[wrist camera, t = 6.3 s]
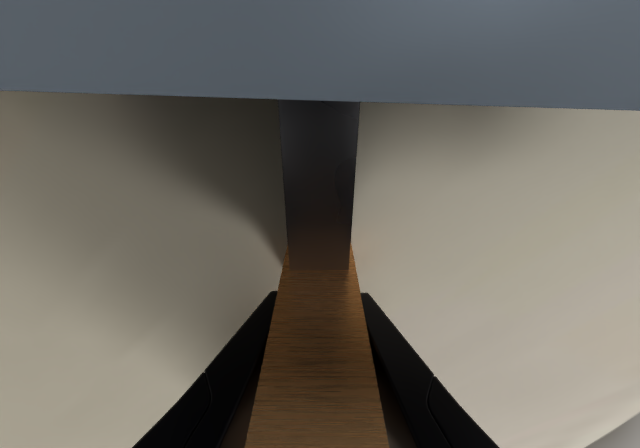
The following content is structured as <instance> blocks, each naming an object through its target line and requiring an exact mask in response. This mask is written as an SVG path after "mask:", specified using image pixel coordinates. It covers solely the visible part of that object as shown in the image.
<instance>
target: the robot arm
mask: <svg viewBox="0 0 640 448" xmlns="http://www.w3.org/2000/svg"><path fill="white" fill-rule="evenodd" d="M277 292H278V291H271V292H270V293H269V294H268V296H267V297H266V298H265V299H264V300H263V302H262V303H261V304H260V305H259V306H258V307H257V309H256V310H255V311H254V312H253V313H252V315H251V316H250V317H249V318H248V319H247V321H246V322H245V323H244V324H243V325H242V326H241V328H240V329H239V330H238V331H237V332H236V334H235V335H234V336H233V337H232V338H231V340H230V341H229V342H228V343H227V344H226V345H225V347H224V348H223V349H222V350H221V351H220V353H219V354H218V355H217V356H216V357H215V359H214V360H213V361H212V362H211V363H210V364H209V366H208V367H207V368H206V369H205V373H204V372H203V373H202V374H201V375H200V376H199V377H198V379H197V380H196V381H195V382H194V383H193V384H192V386H191V387H190V388H189V389H188V390H187V391H186V392H185V394H184V395H183V396H182V397H181V398H180V399H179V400H178V401H177V402H176V403H175V405H174V406H173V407H172V408H171V409H170V410H169V411H168V412H167V413H166V414H165V415H164V416H163V417H162V418H161V419H160V420H159V421H158V422H157V423H156V424H155V425H154V426H153V427H152V428H151V429H150V430H149V431H148V432H147V433H146V434H145V435H144V436H143V437H142V438H141V439H140V440H139V441H138V442H137V443H136V444H135V445H134V446H133V447H132V448H245V443H246V438H247V433H248V429H249V424H250V419H251V415H252V410H253V405H254V400H255V396H256V391H257V386H258V382H259V377H260V372H261V367H262V363H263V358H264V353H265V349H266V344H267V339H268V334H269V330H270V325H271V320H272V316H273V311H274V306H275V301H276V297H277ZM360 294H361V299H362V305H363V310H364V315H365V321H366V326H367V331H368V337H369V342H370V347H371V353H372V358H373V363H374V369H375V374H376V379H377V385H378V390H379V395H380V401H381V406H382V411H383V417H384V422H385V427H386V433H387V438H388V443H389V448H499V447H498V446H497V445H496V444H495V442H494V441H493V440H492V439H491V438H490V437H489V436H488V435H487V434H486V433H485V432H484V431H483V430H482V429H481V428H480V427H479V426H478V425H477V424H476V422H475V421H474V420H473V419H472V418H471V417H470V416H469V415H468V414H467V413H466V412H465V410H464V409H463V408H462V407H461V406H460V405H459V404H458V403H457V401H456V400H455V399H454V398H453V397H452V396H451V394H450V393H449V392H448V391H447V390H446V388H445V387H444V386H443V385H442V384H441V382H440V381H439V380H438V379H437V377H435V376H434V374H433V373H432V371H431V370H430V369H429V368H428V366H427V365H426V364H425V363H424V361H423V360H422V359H421V358H420V357H419V355H418V354H417V353H416V352H415V350H414V349H413V348H412V347H411V345H410V344H409V343H408V342H407V340H406V339H405V338H404V337H403V336H402V334H401V333H400V332H399V331H398V329H397V328H396V327H395V326H394V324H393V323H392V322H391V321H390V319H389V318H388V317H387V316H386V315H385V313H384V312H383V311H382V310H381V308H380V307H379V306H378V305H377V303H376V302H375V301H374V300H373V298H372V297H371V296H370V295H369V294H368V293H360Z"/></svg>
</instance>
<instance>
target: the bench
mask: <svg viewBox="0 0 640 448" xmlns="http://www.w3.org/2000/svg"><path fill="white" fill-rule="evenodd" d="M0 90H2V91H33V92H65V93H97V94H129V95H160V96H192V97H224V98H256V99H287V100H319V101H351V102H383V103H414V104H446V105H478V106H509V107H541V108H573V109H605V110H636V111H640V0H0Z"/></svg>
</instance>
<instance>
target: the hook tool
mask: <svg viewBox="0 0 640 448" xmlns="http://www.w3.org/2000/svg"><path fill="white" fill-rule="evenodd" d="M278 107H279V122H280V137H281V151H282V166H283V181H284V195H285V210H286V224H287V239H288V245H287V250H286V254H285V259H284V264H283V269H282V273H281V278H280V283H279V287H278V292H277V297H276V301H275V306H274V311H273V316H272V320H271V325H270V330H269V334H268V339H267V344H266V349H265V353H264V358H263V363H262V367H261V372H260V377H259V382H258V386H257V391H256V396H255V400H254V405H253V410H252V415H251V419H250V424H249V429H248V433H247V438H246V443H245V448H389V443H388V438H387V433H386V427H385V422H384V417H383V411H382V406H381V401H380V395H379V390H378V385H377V379H376V374H375V369H374V363H373V358H372V353H371V347H370V342H369V337H368V331H367V326H366V321H365V315H364V310H363V305H362V299H361V294H360V289H359V283H358V278H357V273H356V267H355V262H354V257H353V251H352V246H351V228H352V213H353V198H354V183H355V168H356V153H357V138H358V123H359V109H360V102H351V101H319V100H287V99H278Z"/></svg>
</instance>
